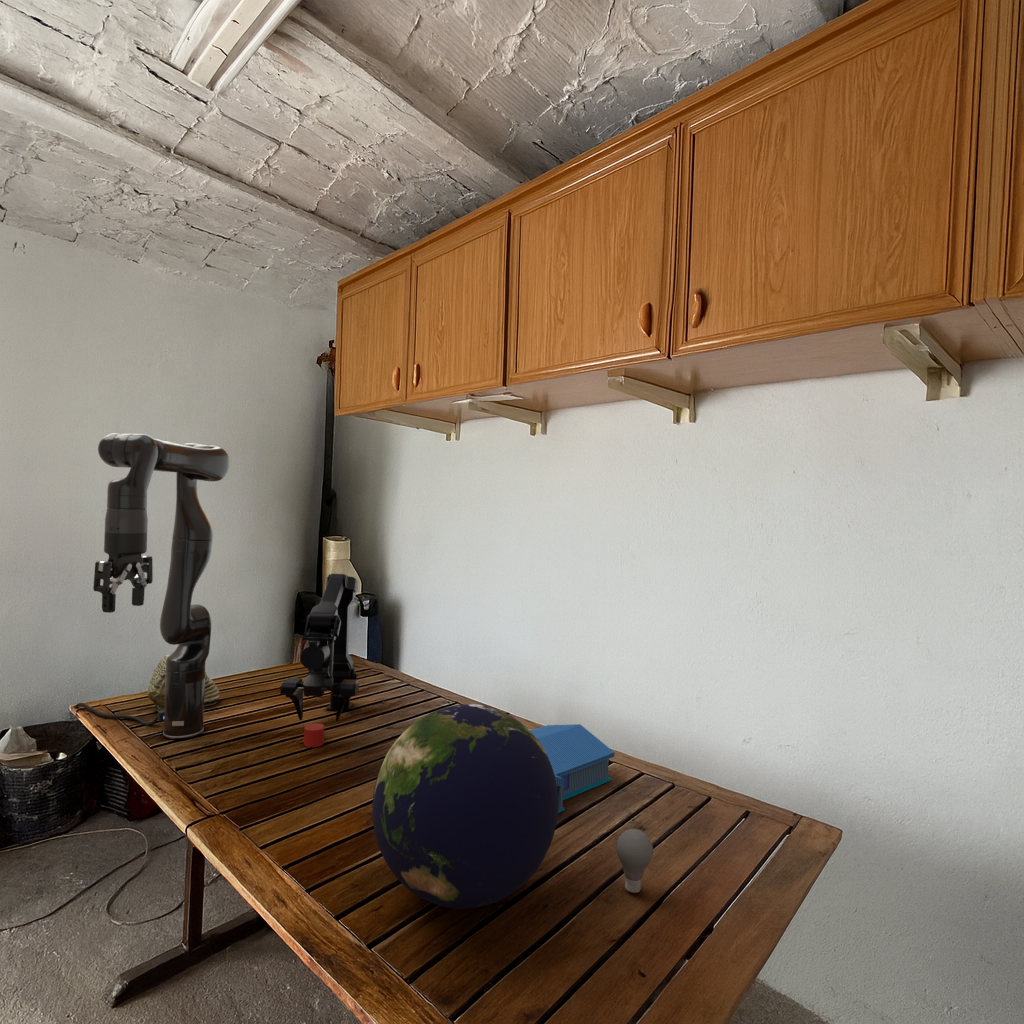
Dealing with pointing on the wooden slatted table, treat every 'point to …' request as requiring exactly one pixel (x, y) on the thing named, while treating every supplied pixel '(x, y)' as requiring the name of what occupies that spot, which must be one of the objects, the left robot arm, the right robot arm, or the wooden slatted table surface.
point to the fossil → (158, 687)
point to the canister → (314, 735)
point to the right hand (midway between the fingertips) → (319, 720)
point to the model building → (574, 758)
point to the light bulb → (634, 857)
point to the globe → (465, 806)
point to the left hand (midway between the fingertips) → (123, 608)
